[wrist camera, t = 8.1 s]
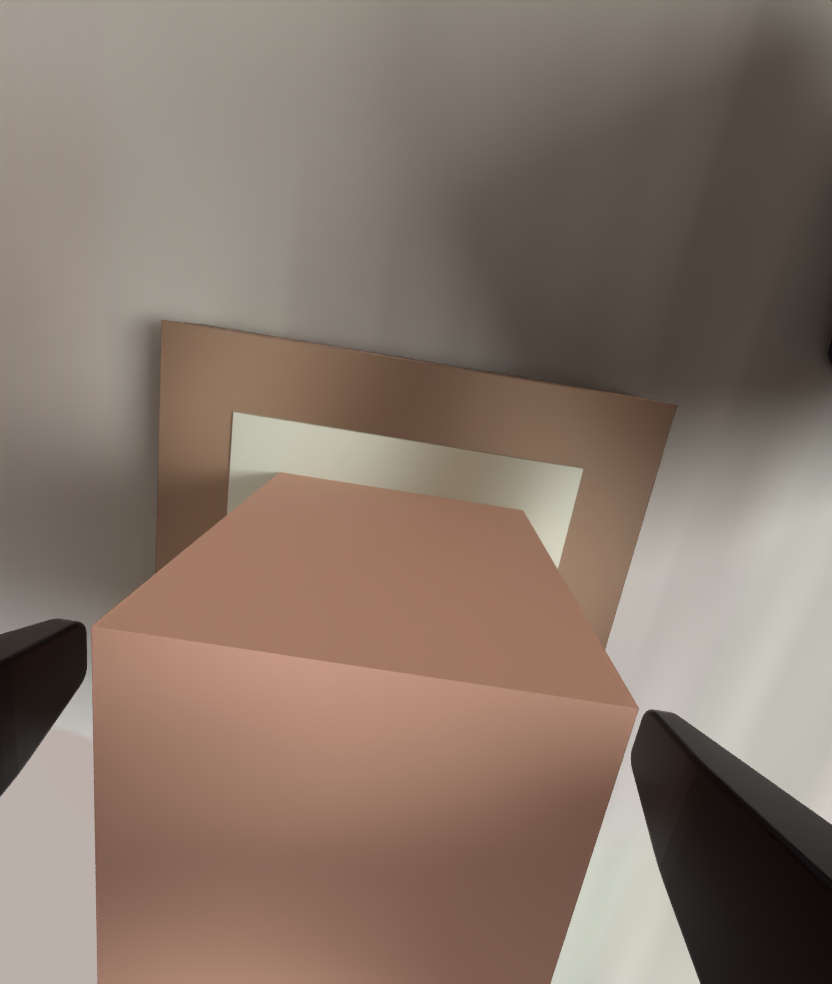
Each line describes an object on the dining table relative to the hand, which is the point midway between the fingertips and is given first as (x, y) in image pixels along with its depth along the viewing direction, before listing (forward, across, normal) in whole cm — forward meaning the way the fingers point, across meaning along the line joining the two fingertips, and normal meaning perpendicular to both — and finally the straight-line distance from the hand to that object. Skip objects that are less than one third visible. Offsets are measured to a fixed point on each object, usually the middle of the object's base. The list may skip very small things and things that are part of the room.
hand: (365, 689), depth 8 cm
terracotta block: (+3, 0, 0) cm, 3 cm away
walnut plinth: (+5, 0, 0) cm, 5 cm away
